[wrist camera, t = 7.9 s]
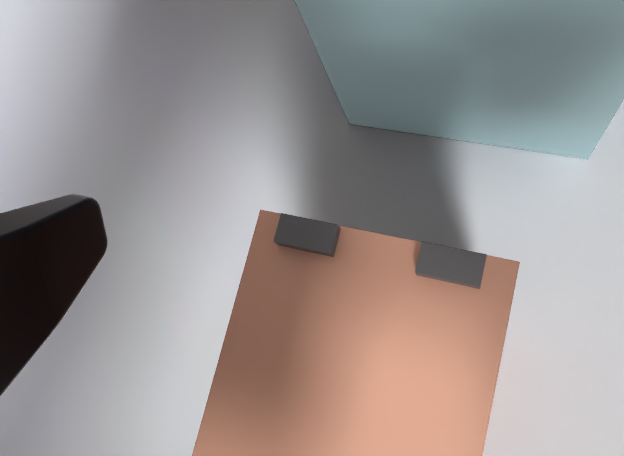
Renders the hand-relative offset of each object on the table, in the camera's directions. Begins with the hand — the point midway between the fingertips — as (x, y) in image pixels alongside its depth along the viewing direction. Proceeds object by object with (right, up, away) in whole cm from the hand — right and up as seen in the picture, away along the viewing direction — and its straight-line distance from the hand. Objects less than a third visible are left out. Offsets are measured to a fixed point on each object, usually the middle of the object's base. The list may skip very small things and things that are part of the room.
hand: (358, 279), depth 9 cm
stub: (+3, -5, +12) cm, 13 cm away
